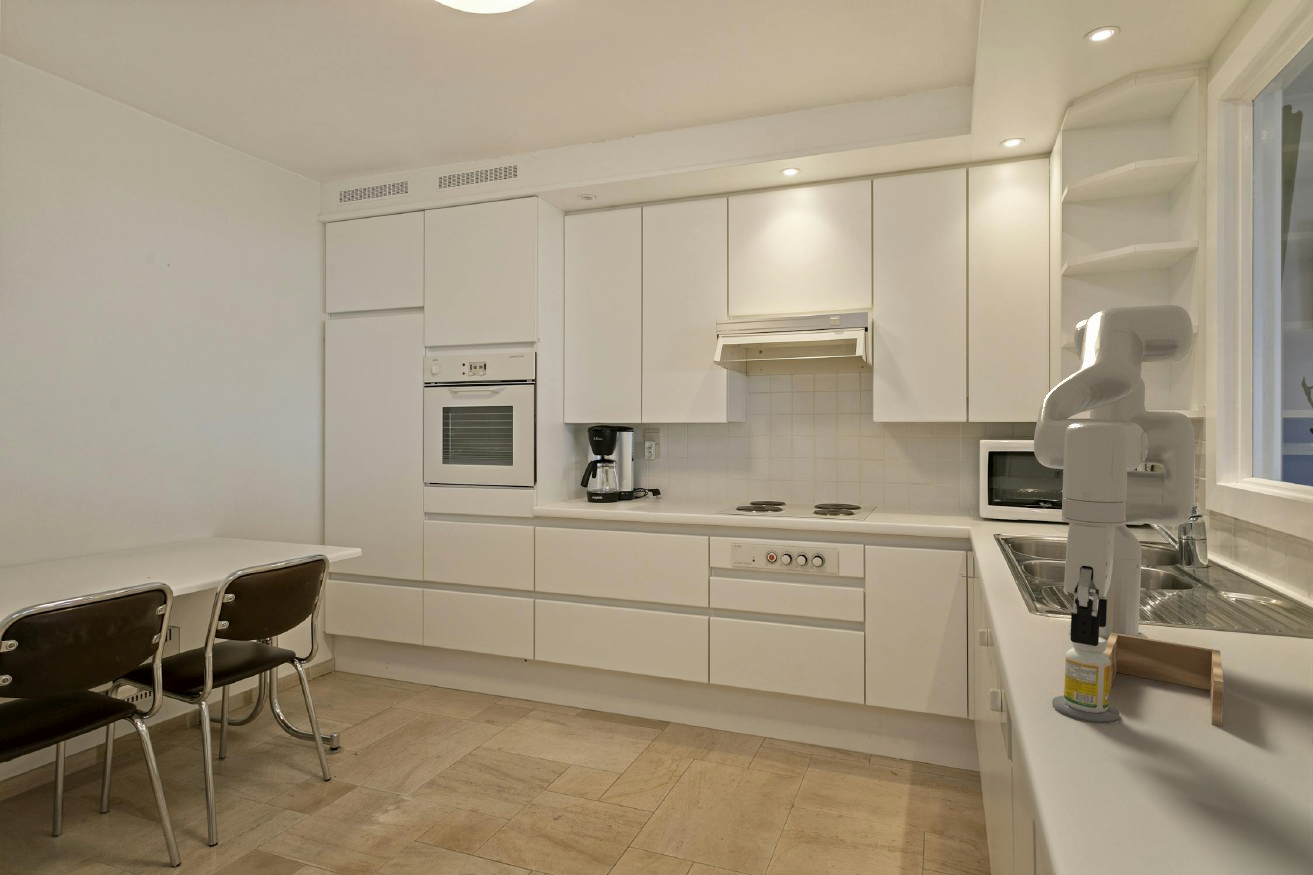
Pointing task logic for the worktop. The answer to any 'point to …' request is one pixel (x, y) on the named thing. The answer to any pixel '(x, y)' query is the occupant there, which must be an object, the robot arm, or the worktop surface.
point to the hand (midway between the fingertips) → (1088, 633)
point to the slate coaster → (1104, 717)
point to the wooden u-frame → (1168, 665)
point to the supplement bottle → (1087, 677)
